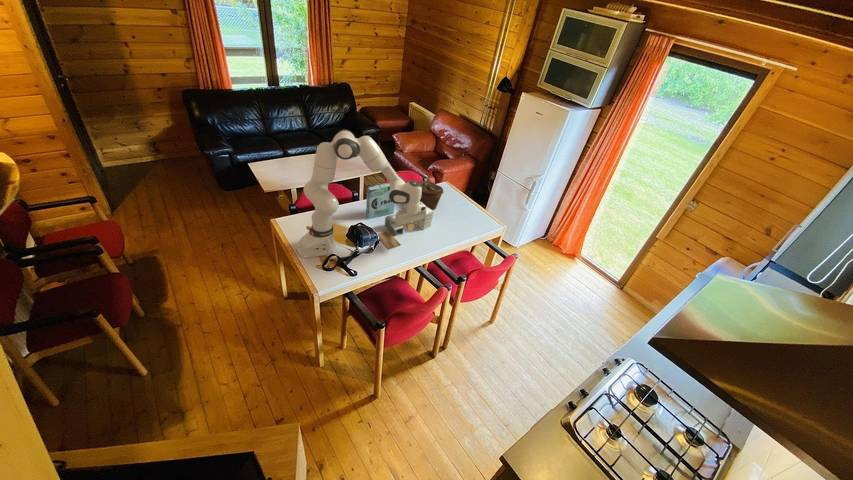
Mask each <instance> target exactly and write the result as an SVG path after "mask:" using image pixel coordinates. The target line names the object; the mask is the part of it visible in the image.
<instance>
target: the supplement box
mask: <svg viewBox="0 0 853 480" xmlns="http://www.w3.org/2000/svg"><path fill="white" fill-rule="evenodd" d="M433 215H434V210H431V209H429V208H428V207H427V208H426V217H425V218H423V219H419V220H417V222H416V223H415V226H417V227H420V228H421V229H422V230H426V229H427V228H430V227H432V221H433Z"/></svg>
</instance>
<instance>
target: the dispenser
mask: <svg viewBox="0 0 853 480" xmlns="http://www.w3.org/2000/svg"><path fill="white" fill-rule="evenodd" d="M395 217H396V213H392V214H391V215H390V214H389V215H388V216H387V215H386V217H384V219H385V220H384V227H385V228H386V230H387V231H388V232H389V233H390V234H391V235H392V236H393V237H396V236H397V235H396V234H397V231H398V232H399V233H400V234H401V235H403V234H404V230H405V228H404V227H403V226H402V225H397V224H396V223H395Z"/></svg>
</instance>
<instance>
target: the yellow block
mask: <svg viewBox="0 0 853 480" xmlns="http://www.w3.org/2000/svg"><path fill="white" fill-rule="evenodd" d="M406 225H407V226H408V227H407V228H406V229H405V230H406V231H407V232H409V231H410V232H411V231H412V230H414V227H415V226H414V224H413V221H412V222H409V223H407V224H406ZM402 226H403V227H404V224H402Z"/></svg>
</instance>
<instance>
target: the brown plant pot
mask: <svg viewBox="0 0 853 480" xmlns="http://www.w3.org/2000/svg"><path fill="white" fill-rule="evenodd" d="M419 183H420V185H421V187H422V194H421V199H420V202H422V203H423V204H424V205H425V206H426V207H428V208H429V209H431V210H433V211H434V210H436V209H437V206H438V204H439V202H440V199H441V197H442V195H443V194H444V188H443V187H442V186H440V185H437V183H434V182H433V181H429V180H422V181H420V182H419Z"/></svg>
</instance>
